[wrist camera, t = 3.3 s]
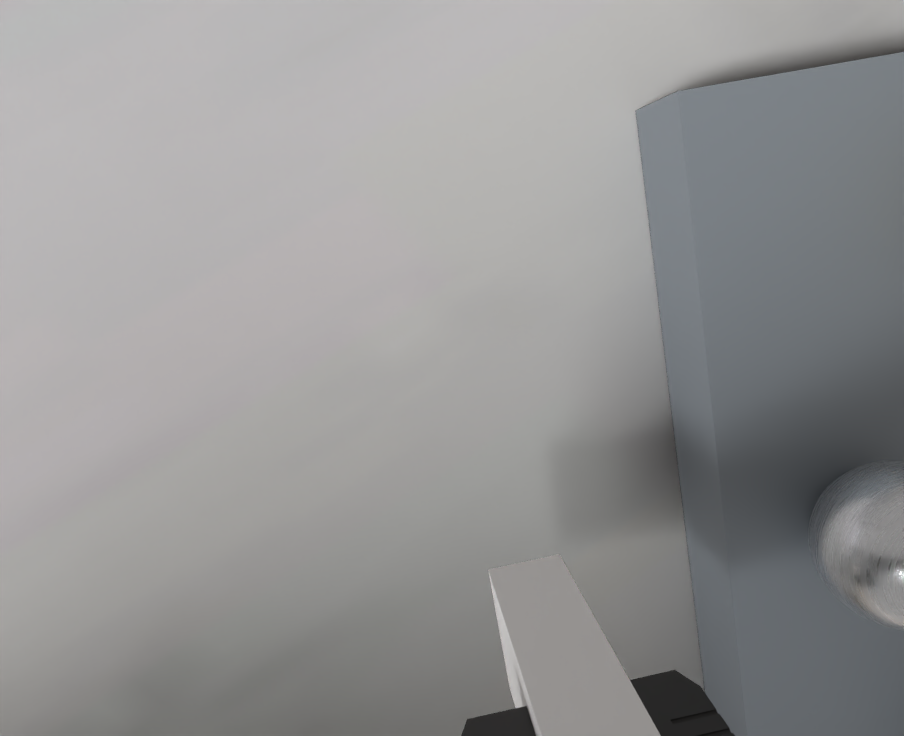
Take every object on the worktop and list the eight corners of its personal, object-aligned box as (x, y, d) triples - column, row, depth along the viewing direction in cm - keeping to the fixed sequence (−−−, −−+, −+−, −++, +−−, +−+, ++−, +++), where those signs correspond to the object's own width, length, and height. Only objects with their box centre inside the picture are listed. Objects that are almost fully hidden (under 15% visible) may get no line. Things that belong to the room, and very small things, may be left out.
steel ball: (783, 594, 17) (883, 684, 14) (770, 457, 17) (873, 515, 13) (920, 563, 18) (1052, 645, 14) (914, 427, 17) (1051, 477, 13)
